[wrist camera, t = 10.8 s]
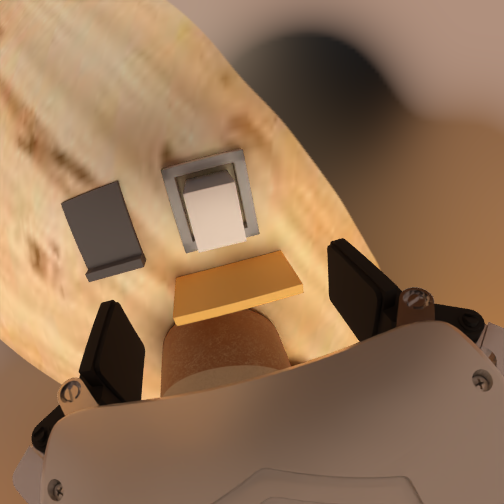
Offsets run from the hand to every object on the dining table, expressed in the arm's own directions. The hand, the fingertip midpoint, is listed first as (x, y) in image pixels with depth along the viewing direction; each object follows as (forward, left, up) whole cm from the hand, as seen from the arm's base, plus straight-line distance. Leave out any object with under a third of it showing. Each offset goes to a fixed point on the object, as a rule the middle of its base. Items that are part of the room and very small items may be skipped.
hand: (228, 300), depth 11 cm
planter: (+20, -4, -17) cm, 27 cm away
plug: (0, 0, -17) cm, 17 cm away
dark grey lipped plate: (0, -12, -17) cm, 21 cm away
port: (+2, 0, -17) cm, 17 cm away
